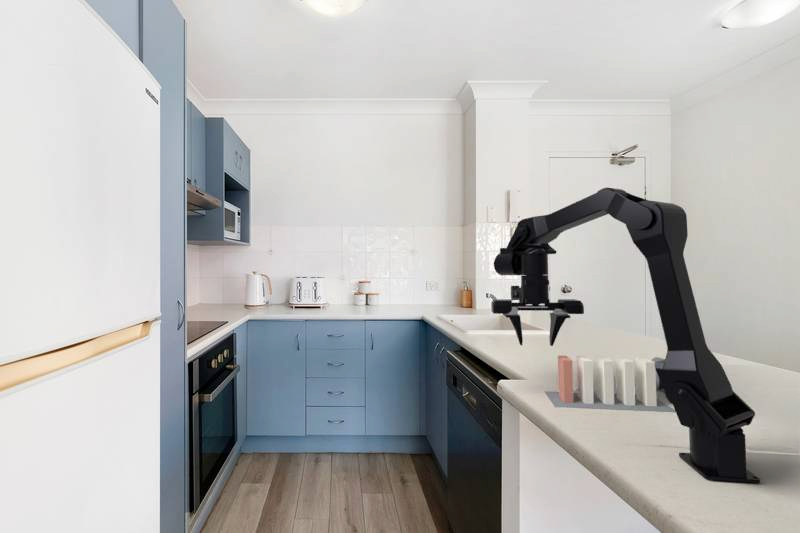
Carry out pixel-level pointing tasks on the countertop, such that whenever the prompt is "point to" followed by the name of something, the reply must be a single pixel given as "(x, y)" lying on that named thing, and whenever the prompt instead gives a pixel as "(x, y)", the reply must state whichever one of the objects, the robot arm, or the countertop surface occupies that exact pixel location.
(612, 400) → the domino
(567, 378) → the domino
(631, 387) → the domino
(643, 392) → the domino
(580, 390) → the domino
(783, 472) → the countertop surface
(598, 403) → the slate mat
